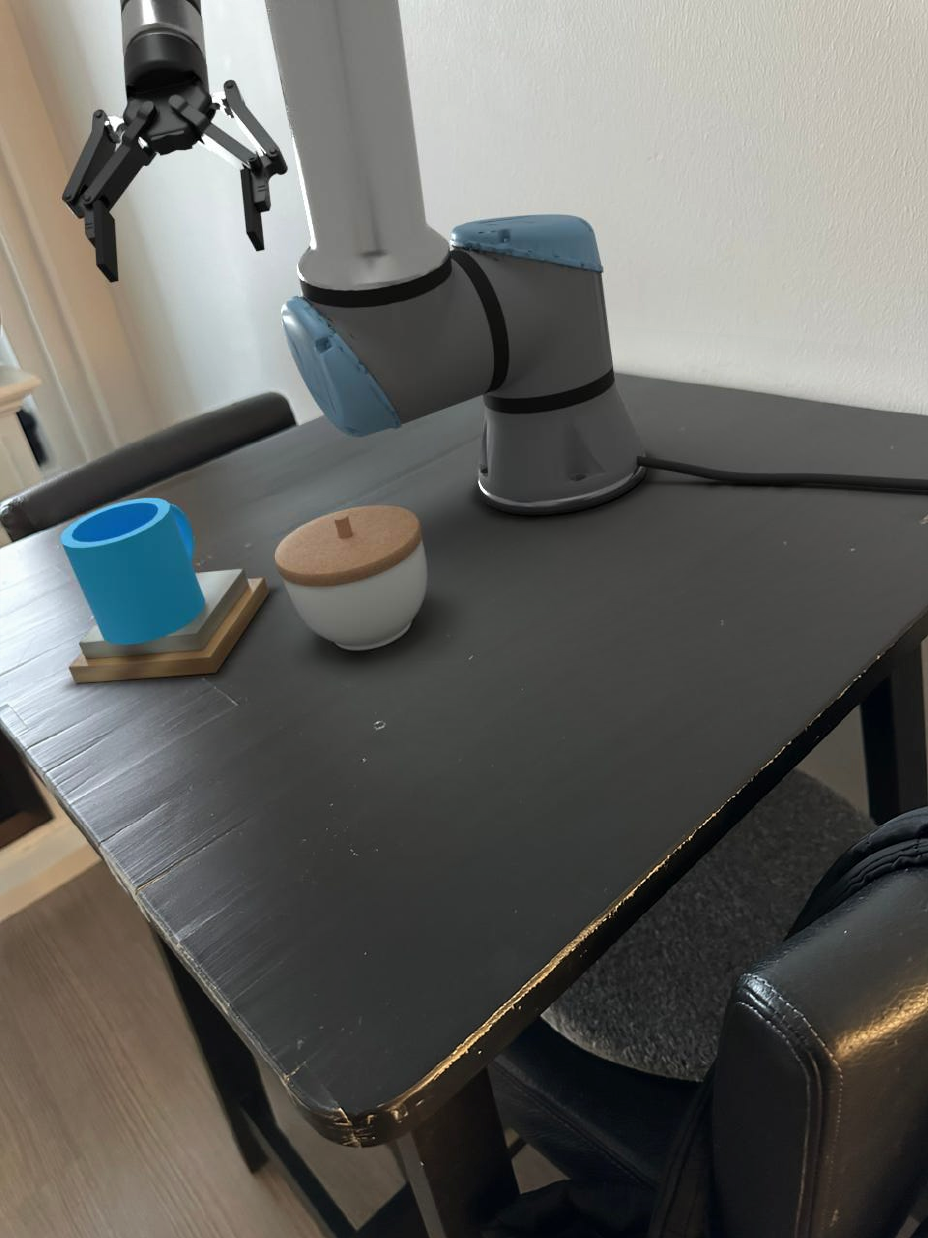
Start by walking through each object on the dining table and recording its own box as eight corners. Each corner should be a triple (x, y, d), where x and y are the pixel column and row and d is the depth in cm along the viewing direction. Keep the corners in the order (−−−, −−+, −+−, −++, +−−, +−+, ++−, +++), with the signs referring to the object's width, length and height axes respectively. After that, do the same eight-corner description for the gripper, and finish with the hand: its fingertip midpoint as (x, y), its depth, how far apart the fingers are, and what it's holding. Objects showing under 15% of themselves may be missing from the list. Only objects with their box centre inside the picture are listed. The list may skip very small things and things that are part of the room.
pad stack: (269, 592, 86) (259, 561, 85) (216, 673, 76) (203, 639, 75) (142, 604, 89) (130, 574, 88) (75, 683, 79) (60, 651, 78)
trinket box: (274, 647, 78) (237, 537, 73) (375, 581, 84) (347, 476, 79) (368, 683, 71) (333, 564, 66) (471, 609, 77) (445, 495, 72)
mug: (171, 644, 75) (132, 545, 71) (80, 645, 78) (37, 550, 74) (244, 564, 85) (213, 473, 81) (161, 568, 87) (126, 480, 83)
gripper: (306, 63, 98) (329, 253, 92) (59, 119, 100) (68, 308, 95) (282, -2, 91) (306, 200, 85) (17, 60, 93) (23, 261, 88)
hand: (181, 257), depth 90 cm, fingers open, 13 cm apart
